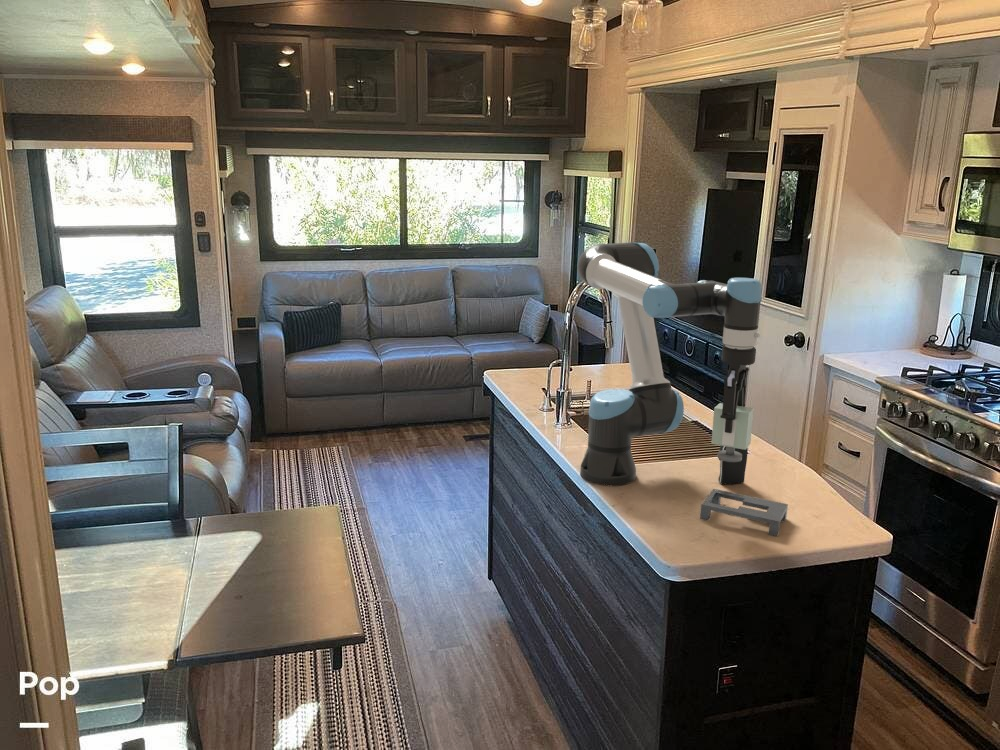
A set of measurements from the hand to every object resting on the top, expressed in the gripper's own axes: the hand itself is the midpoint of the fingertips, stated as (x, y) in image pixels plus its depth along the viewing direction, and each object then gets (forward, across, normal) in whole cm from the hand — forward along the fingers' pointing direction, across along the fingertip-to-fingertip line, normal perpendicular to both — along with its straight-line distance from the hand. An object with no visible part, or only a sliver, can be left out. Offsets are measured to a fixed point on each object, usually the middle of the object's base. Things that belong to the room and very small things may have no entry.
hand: (731, 441), depth 187 cm
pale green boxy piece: (+4, 0, 0) cm, 4 cm away
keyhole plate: (+19, 0, -4) cm, 20 cm away
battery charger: (+19, +22, +4) cm, 29 cm away
